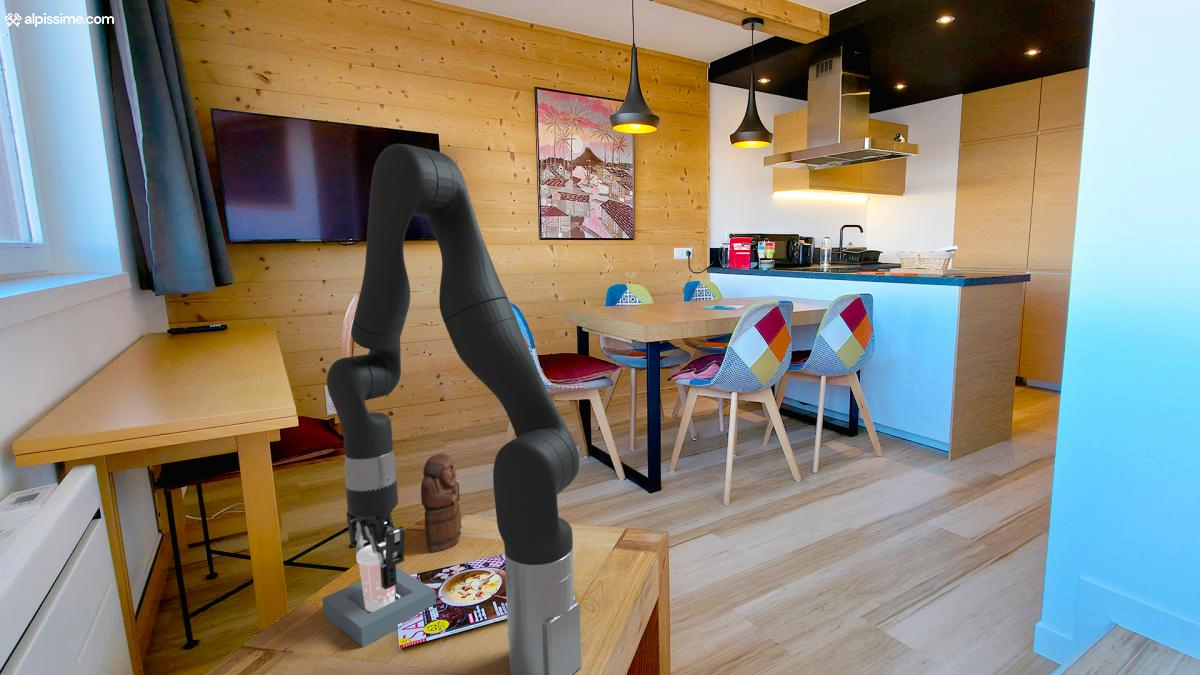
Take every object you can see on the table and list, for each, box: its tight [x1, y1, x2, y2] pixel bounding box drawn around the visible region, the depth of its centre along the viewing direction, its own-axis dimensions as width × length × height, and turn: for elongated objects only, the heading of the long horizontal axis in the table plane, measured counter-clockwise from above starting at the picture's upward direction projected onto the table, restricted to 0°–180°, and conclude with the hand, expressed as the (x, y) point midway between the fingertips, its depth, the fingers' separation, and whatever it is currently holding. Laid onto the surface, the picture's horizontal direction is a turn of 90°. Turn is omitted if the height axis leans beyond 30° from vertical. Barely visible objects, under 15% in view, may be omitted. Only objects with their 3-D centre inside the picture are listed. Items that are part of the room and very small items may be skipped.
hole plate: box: [321, 566, 437, 648], centre depth 92 cm, size 13×13×3 cm
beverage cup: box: [355, 541, 397, 613], centre depth 91 cm, size 6×6×14 cm
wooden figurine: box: [420, 453, 463, 553], centre depth 116 cm, size 12×6×18 cm, turn 3°
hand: (378, 579), depth 92 cm, fingers closed on beverage cup, 6 cm apart
